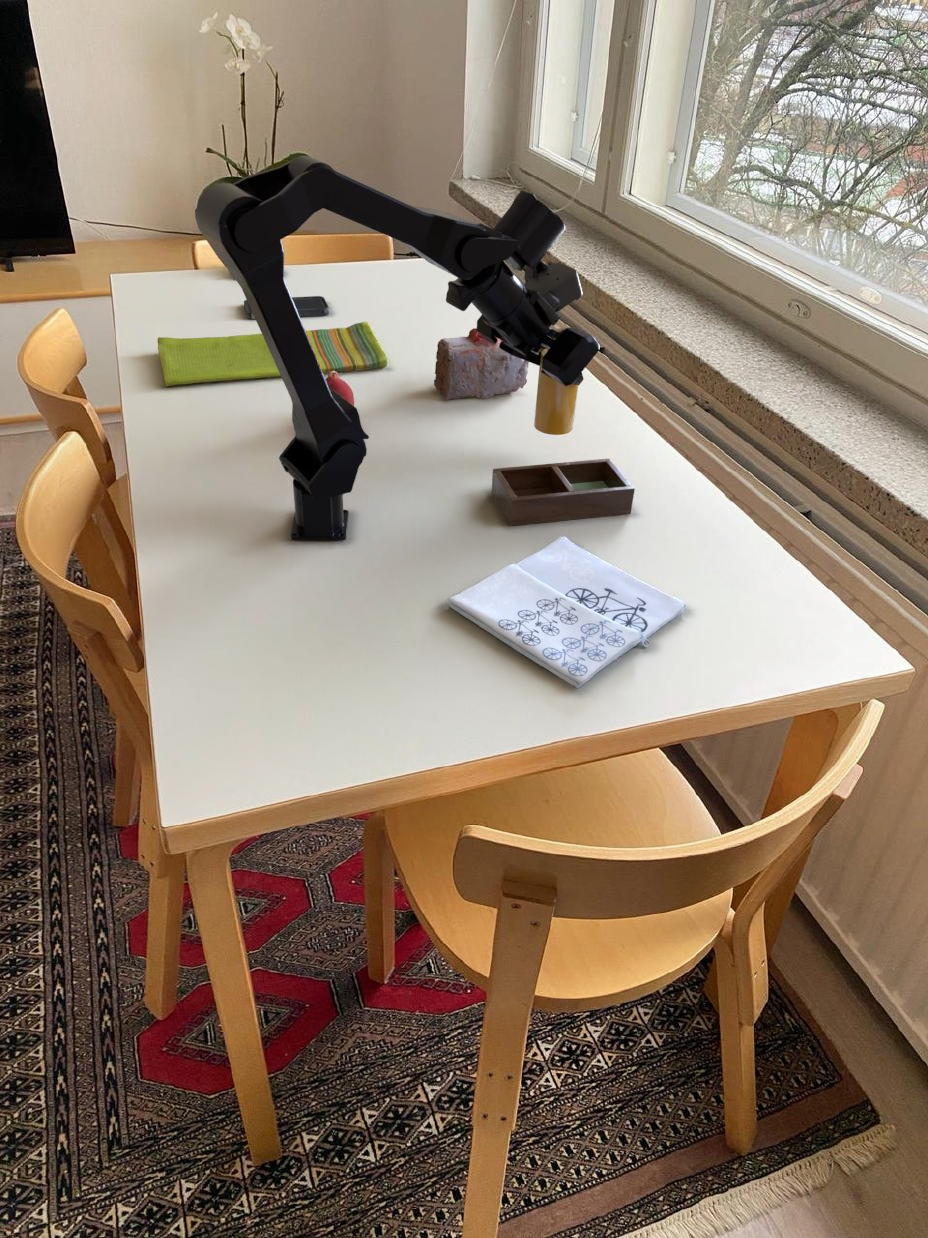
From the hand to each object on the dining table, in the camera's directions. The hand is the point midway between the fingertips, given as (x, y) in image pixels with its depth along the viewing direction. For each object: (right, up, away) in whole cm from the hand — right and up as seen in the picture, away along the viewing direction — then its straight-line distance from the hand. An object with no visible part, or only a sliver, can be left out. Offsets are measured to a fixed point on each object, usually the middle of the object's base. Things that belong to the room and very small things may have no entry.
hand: (567, 374), depth 120 cm
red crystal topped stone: (-11, +4, +27) cm, 29 cm away
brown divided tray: (-1, -17, -2) cm, 17 cm away
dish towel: (-45, +11, +33) cm, 57 cm away
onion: (-32, -4, +14) cm, 35 cm away
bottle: (-1, -6, +4) cm, 7 cm away
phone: (-47, +26, +53) cm, 75 cm away
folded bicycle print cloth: (-2, -31, -20) cm, 37 cm away
